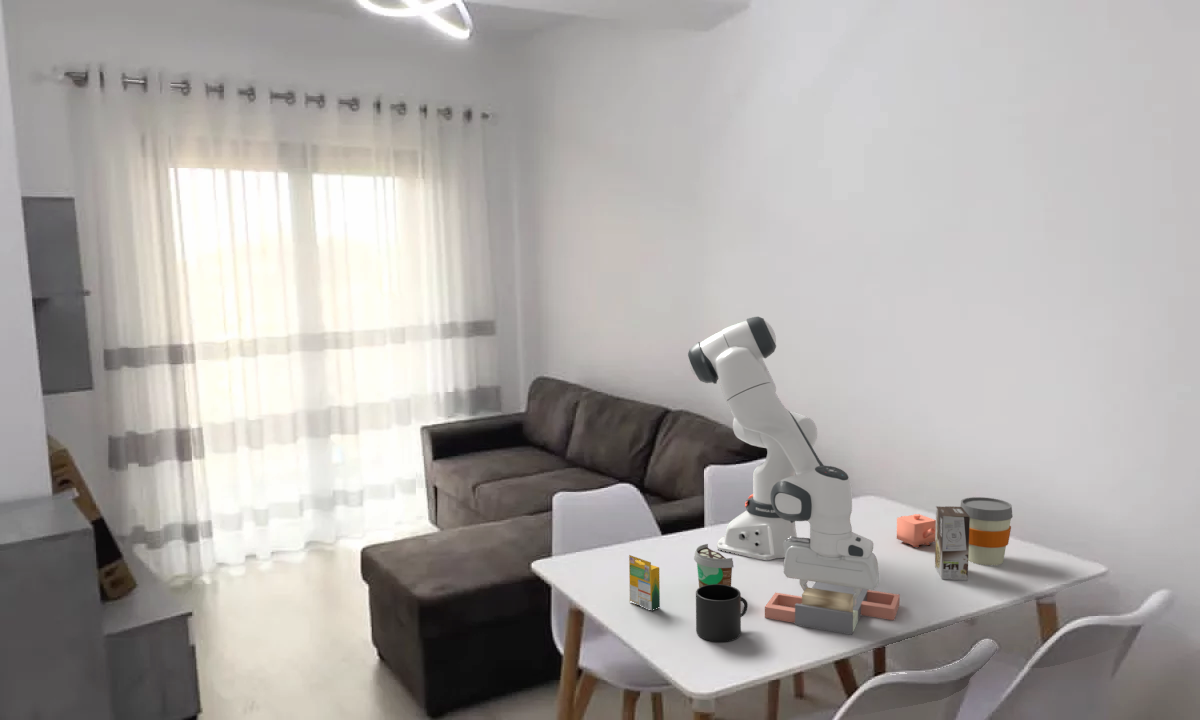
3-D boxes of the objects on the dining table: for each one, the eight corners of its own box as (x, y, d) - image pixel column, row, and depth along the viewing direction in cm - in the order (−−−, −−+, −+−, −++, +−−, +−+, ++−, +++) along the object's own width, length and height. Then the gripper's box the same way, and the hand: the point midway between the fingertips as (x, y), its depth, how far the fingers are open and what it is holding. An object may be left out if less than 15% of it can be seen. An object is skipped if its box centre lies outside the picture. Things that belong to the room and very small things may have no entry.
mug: (759, 635, 178) (759, 594, 177) (710, 646, 173) (710, 604, 172) (735, 618, 187) (735, 579, 186) (688, 628, 182) (687, 588, 181)
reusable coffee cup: (948, 558, 221) (949, 502, 219) (974, 548, 228) (976, 494, 227) (994, 571, 211) (996, 513, 209) (1020, 560, 218) (1022, 504, 217)
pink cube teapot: (922, 553, 226) (923, 523, 225) (891, 540, 237) (891, 511, 236) (945, 548, 229) (945, 519, 228) (913, 536, 240) (913, 507, 239)
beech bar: (801, 612, 183) (802, 594, 183) (806, 604, 187) (806, 587, 187) (849, 619, 179) (849, 601, 178) (852, 612, 183) (853, 594, 182)
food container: (684, 586, 206) (684, 546, 205) (706, 582, 208) (706, 543, 207) (711, 604, 195) (710, 562, 193) (733, 599, 197) (733, 558, 196)
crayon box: (660, 608, 193) (660, 559, 192) (651, 612, 191) (650, 562, 190) (638, 599, 198) (637, 551, 197) (629, 602, 197) (628, 554, 195)
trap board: (763, 619, 186) (763, 599, 185) (787, 586, 204) (787, 568, 204) (886, 640, 174) (887, 619, 174) (900, 603, 193) (900, 584, 192)
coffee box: (968, 581, 205) (970, 516, 204) (940, 579, 207) (942, 515, 205) (960, 567, 214) (962, 506, 212) (934, 566, 216) (935, 505, 214)
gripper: (779, 539, 186) (779, 599, 187) (876, 551, 177) (875, 614, 178) (787, 531, 191) (786, 589, 193) (880, 542, 182) (879, 603, 184)
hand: (830, 601), depth 186 cm, fingers open, 8 cm apart
